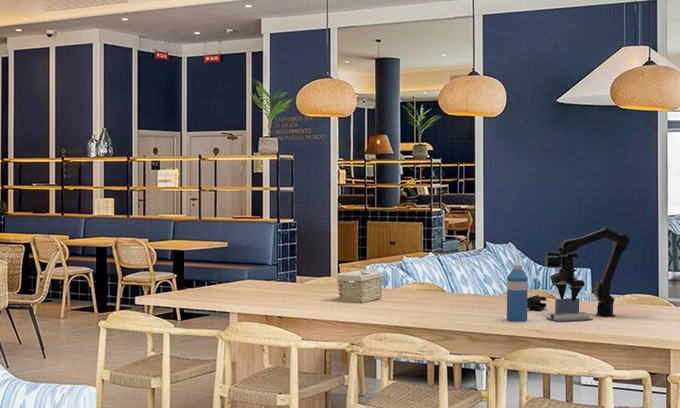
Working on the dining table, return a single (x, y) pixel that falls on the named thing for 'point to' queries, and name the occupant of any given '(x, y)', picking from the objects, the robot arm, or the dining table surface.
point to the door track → (569, 317)
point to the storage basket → (360, 286)
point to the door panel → (566, 306)
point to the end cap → (536, 303)
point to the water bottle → (517, 295)
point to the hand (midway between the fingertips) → (567, 300)
